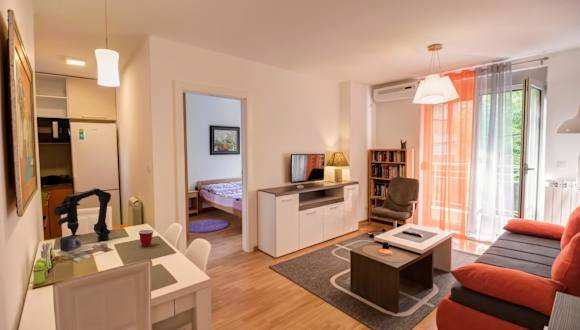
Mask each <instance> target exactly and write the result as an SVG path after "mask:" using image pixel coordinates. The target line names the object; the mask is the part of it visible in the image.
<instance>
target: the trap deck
mask: <svg viewBox="0 0 580 330" xmlns="http://www.w3.org/2000/svg"><path fill="white" fill-rule="evenodd" d="M90 248H92V249H90ZM87 249H90V250H87ZM85 250H86V251H84V248H83V249H79V250H75V251H72V252H68V253H65V254H63V257H64V258H65V257H66V259H67V258H68V259H67V260H69V259H70V261H71V262H72V261H73V262H74V263H76V264H78V263H79V262H78V261H81V260H85V259H89V258H92V257H95V256H96V253H98V252H101V253H98V254H97V256H99V255H102V254H105V253H108V252H111V251H114V250H115V249H113V248H110V247H108V248H107V249H103V250H100V251H97V250H95V249H94V245H93V246H90V247H86V248H85ZM92 254H95V255H92Z"/></svg>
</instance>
